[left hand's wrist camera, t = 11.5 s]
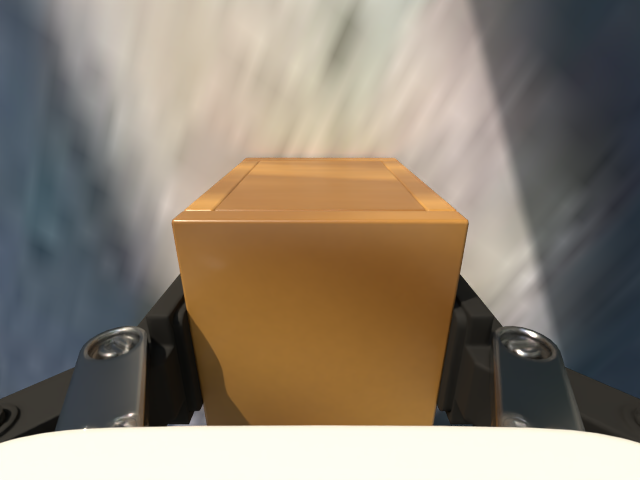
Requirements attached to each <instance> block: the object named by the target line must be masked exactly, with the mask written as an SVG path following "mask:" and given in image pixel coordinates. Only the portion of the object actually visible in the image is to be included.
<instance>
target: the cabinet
mask: <svg viewBox="0 0 640 480" xmlns="http://www.w3.org/2000/svg"><path fill="white" fill-rule="evenodd" d="M468 225H469V222H468V220H467V219H466V218H465V217H463V216H462V215H461V214H460V213H459V212H457V211H456V209H454V208H453V207H452V206H451V205H450V204H448V203H447V202H446V201H445V200H444V199H442V198H441V197H440V196H439V195H438V194H437V193H435V192H434V191H433V190H432V189H431V188H429V187H428V186H427V185H426V184H425V183H424V182H422V181H421V180H420V179H419V178H418V177H416V176H415V175H414V174H413V173H412V172H410V171H409V170H408V169H407V168H406V167H405V166H403V165H402V164H401V163H400V162H398V160H396V159H395V158H245V159H244V160H243V161H242V162H241V163H240V164H239V165H238V166H236V167H235V168H234V169H233V170H232V171H230V172H229V173H228V174H227V175H226V176H224V177H223V178H222V179H221V180H220V181H218V182H217V183H216V184H215V185H214V186H212V187H211V188H210V189H209V190H208V191H206V192H205V193H204V194H203V195H202V196H200V197H199V198H198V199H197V200H196V201H194V202H193V203H192V204H191V205H190V206H189V207H187V208H186V209H185V211H183V212H181V213H180V214H179V215H178V216H176V217H175V218H174V219H173V220H172V228H173V234H174V239H175V245H176V251H177V257H178V262H179V268H180V274H181V279H182V285H183V291H184V297H185V302H186V308H187V314H188V320H189V325H190V331H191V337H192V342H193V348H194V354H195V360H196V365H197V371H198V377H199V383H200V388H201V394H202V400H203V405H204V411H205V417H206V423H207V426H302V425H338V426H433V423H434V417H435V412H436V406H437V400H438V395H439V389H440V383H441V378H442V372H443V366H444V361H445V355H446V349H447V344H448V338H449V332H450V327H451V321H452V315H453V310H454V304H455V298H456V293H457V287H458V281H459V276H460V270H461V264H462V259H463V253H464V247H465V242H466V236H467V230H468Z"/></svg>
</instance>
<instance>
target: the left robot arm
mask: <svg viewBox="0 0 640 480" xmlns="http://www.w3.org/2000/svg"><path fill="white" fill-rule="evenodd" d="M202 405H203V400H202V394H201V388H200V383H199V377H198V371H197V365H196V360H195V354H194V348H193V342H192V337H191V331H190V325H189V320H188V314H187V308H186V302H185V297H184V291H183V285H182V279H181V274H179V276H178V277H177V278H176V279H175V281H174V282H173V283H172V284H171V285H170V287H169V288H168V289H167V290H166V292H165V293H164V294H163V295H162V297H161V298H160V299H159V300H158V301H157V303H156V304H155V305H154V306H153V308H152V309H151V310H150V311H149V312H148V314H147V315H146V316H145V317H144V319H143V320H142V321H141V322H140V324H139V325H138V326H137V327H136V326H124V327H117V328H113V329H110V330H107V331H105V332H102V333H100V334H98V335H96V336H95V337H93V338H91V339H90V340H89V341H88V342H87V343H85V344H84V345H83V347H82V349H81V350H80V353H79V356H78V359H77V362H76V365H75V367H74V368H72V369H69V370H67V371H65V372H62V373H60V374H58V375H55V376H53V377H51V378H48V379H46V380H44V381H41V382H39V383H37V384H34V385H32V386H30V387H27V388H25V389H23V390H20V391H18V392H16V393H13V394H11V395H9V396H6V397H4V398H2V399H0V480H640V399H638V398H636V397H633V396H631V395H629V394H626V393H624V392H622V391H619V390H617V389H615V388H612V387H610V386H608V385H605V384H603V383H601V382H598V381H596V380H594V379H591V378H589V377H587V376H584V375H582V374H580V373H577V372H575V371H573V370H570V369H568V368H566V367H565V365H564V362H563V359H562V356H561V353H560V350H559V349H558V347H557V345H556V344H555V343H553V342H552V341H551V340H550V339H549V338H547V337H545V336H544V335H542V334H540V333H538V332H535V331H533V330H530V329H527V328H523V327H516V326H504V327H503V326H502V325H501V324H500V323H499V321H498V320H497V319H496V318H495V317H494V315H493V314H492V313H491V312H490V310H489V309H488V308H487V307H486V305H485V304H484V303H483V302H482V301H481V299H480V298H479V297H478V296H477V294H476V293H475V292H474V291H473V289H472V288H471V287H470V286H469V285H468V283H467V282H466V281H465V280H464V278H463V277H462V276H461V275H460V276H459V281H458V287H457V293H456V298H455V304H454V310H453V315H452V321H451V327H450V332H449V338H448V344H447V349H446V355H445V361H444V366H443V372H442V378H441V383H440V389H439V395H438V400H437V405H438V408H439V409H440V411H446V414H447V416H448V419H449V421H450V424H473V427H467V426H338V425H302V426H173V427H167V424H189V423H190V421H191V418H192V416H193V413H194V411H199V410H200V409H201V407H202Z"/></svg>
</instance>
